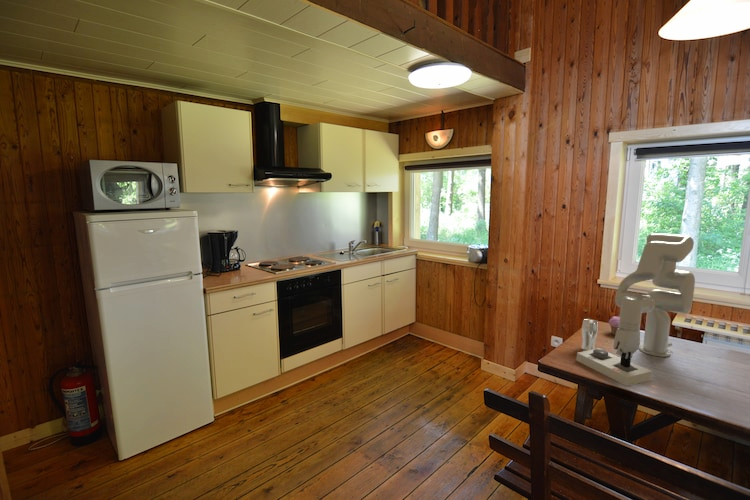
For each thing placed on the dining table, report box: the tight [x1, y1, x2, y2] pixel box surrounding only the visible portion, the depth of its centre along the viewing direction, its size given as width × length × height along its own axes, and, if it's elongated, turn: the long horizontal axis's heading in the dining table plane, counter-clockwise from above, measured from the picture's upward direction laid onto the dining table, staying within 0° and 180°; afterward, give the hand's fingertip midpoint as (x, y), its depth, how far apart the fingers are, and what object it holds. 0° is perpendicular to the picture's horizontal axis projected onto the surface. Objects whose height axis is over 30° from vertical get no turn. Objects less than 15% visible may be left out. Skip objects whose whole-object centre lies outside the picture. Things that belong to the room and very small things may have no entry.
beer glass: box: [580, 318, 599, 351], centre depth 190 cm, size 7×7×15 cm
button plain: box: [593, 348, 609, 360], centre depth 174 cm, size 6×6×3 cm
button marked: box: [617, 363, 634, 372], centre depth 163 cm, size 6×6×3 cm
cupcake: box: [608, 315, 620, 336], centre depth 209 cm, size 9×9×10 cm
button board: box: [576, 347, 652, 387], centre depth 169 cm, size 14×25×4 cm, turn 20°
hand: (625, 365), depth 163 cm, fingers closed
